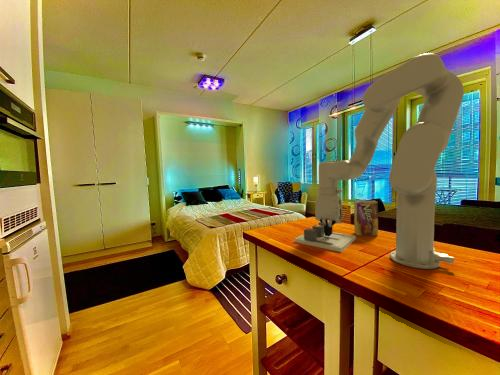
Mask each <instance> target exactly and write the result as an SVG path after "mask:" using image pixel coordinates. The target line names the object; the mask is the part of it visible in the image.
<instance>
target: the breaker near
mask: <svg viewBox="0 0 500 375" xmlns="http://www.w3.org/2000/svg"><path fill="white" fill-rule="evenodd" d="M303 234H304V239H305V240H310V241H315V240H316V239H317V237H316V230H315V229H312V228H310V227H309V228H308V227H307V228H304V229H303Z"/></svg>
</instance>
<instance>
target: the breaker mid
mask: <svg viewBox="0 0 500 375" xmlns="http://www.w3.org/2000/svg"><path fill="white" fill-rule="evenodd" d="M311 229H315V230H316V236H319V237H322V236H324V226H321V225H318V224H315V225H313V226H312V227H311Z"/></svg>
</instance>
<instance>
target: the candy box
mask: <svg viewBox="0 0 500 375" xmlns="http://www.w3.org/2000/svg"><path fill="white" fill-rule="evenodd" d="M378 203H379V202H378V201H376V200H354V201H353V211H354V212H353V215H354V220H353V222H354V225H353V226H354V234H355V236H356V235H357V236H379V206H378V205H379V204H378Z"/></svg>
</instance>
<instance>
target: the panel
mask: <svg viewBox="0 0 500 375" xmlns="http://www.w3.org/2000/svg"><path fill="white" fill-rule="evenodd" d="M316 237H317V239H316V240H315V241H310V240H305V239H304V233H303V234H301V235H299V236H297V237H296V238H294V243H299V244H302V245H306V246H311V247H316V248H321V249H324V250H330V251H333V252H339V253H342V252H343V251H344V250H346V249H347V248H348V247H349V246H350V245H351V244H352V243H354V242H355V241H356V239H357V236H356V235H354V234H353V235H352V234H345V233H340V232H333V231H332V234H331V235H330V236H325V233H324V236H322V237H319V236H316Z"/></svg>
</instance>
